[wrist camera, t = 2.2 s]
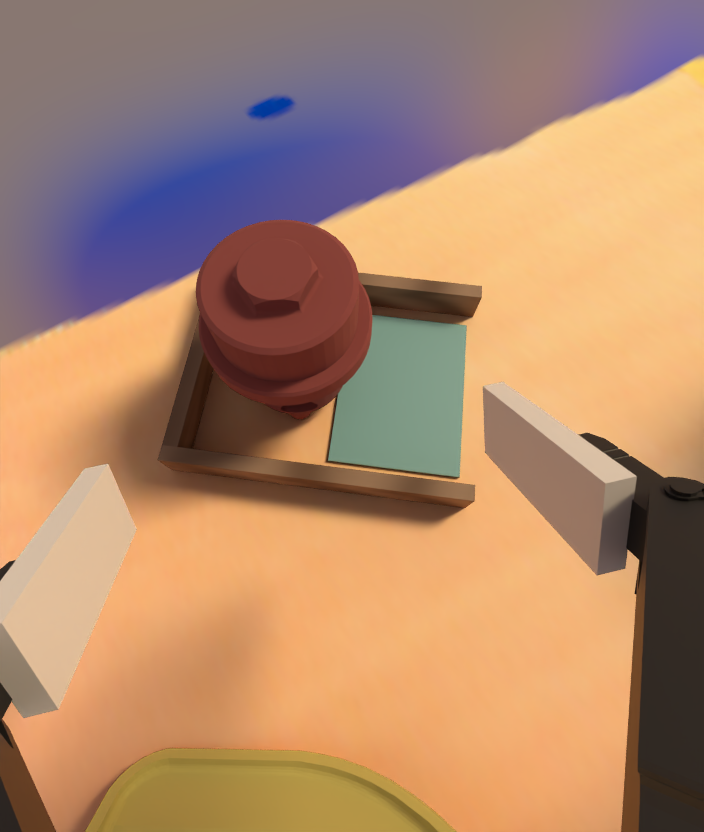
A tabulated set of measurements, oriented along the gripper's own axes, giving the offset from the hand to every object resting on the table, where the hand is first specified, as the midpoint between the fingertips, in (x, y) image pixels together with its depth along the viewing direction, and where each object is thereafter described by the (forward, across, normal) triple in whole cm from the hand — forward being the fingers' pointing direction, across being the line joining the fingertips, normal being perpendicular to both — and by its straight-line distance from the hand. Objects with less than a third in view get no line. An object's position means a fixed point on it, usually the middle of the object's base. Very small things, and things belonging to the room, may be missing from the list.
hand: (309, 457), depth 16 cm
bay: (+18, +2, -4) cm, 18 cm away
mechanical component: (+18, 0, -3) cm, 19 cm away
